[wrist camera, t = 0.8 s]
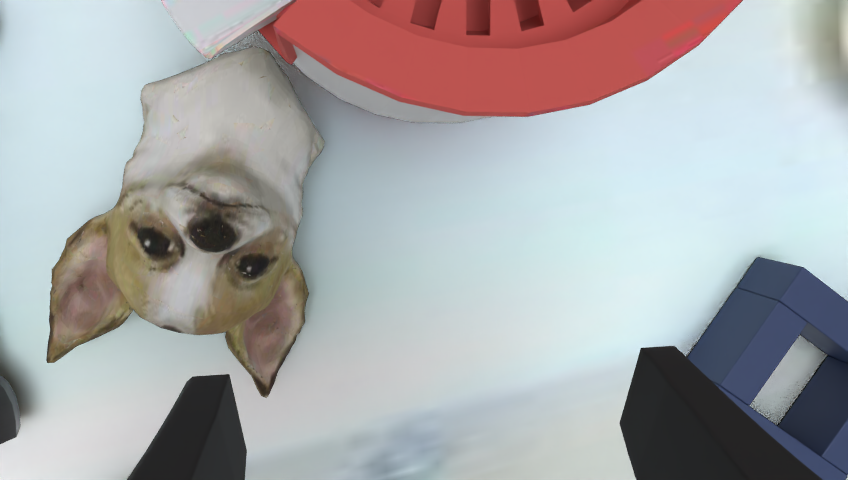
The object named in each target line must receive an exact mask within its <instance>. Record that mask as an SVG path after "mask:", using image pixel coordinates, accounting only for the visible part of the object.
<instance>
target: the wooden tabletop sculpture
mask: <svg viewBox="0 0 848 480" xmlns="http://www.w3.org/2000/svg"><path fill="white" fill-rule="evenodd" d="M19 429H20V410H19V406H18V402H17V397H16V395H15V393H14V391H13V389H12V388H11V386H10V384H9V383H8V381H7V380H6V379H5V378H3V377H2V376H1V375H0V444H2V443H4V442H6V441H8V440H10V439H13V438H15V437H17V434H18V432H19Z"/></svg>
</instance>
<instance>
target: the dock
mask: <svg viewBox="0 0 848 480" xmlns="http://www.w3.org/2000/svg"><path fill="white" fill-rule="evenodd" d="M737 287H738V288H735V290H734V291H733V293H732V294H731V295H730V297H729V298H728V300H727V301H726V303H725V304H724V305H723V307H722V308H721V310H720V311H719V313H718V314H717V315H716V317H715V318H714V320H713V321H712V323H711V324H710V325H709V327H708V328H707V330H706V331H705V333H704V334H703V335H702V337H701V338H700V340H699V341H698V343H697V344H696V345H695V347H694V348H693V350H692V351H691V353H690V354H689V355H688V357H687V358H688V359H689V360H690V361H691V362H692V363H693V364H694V365H695V366H696V367H697V368H698V369H699V370H700V371H701V372H702V373H703V374H705V375H706V376H707V377H708V378H709V379H710V380H711V381H712V382H713V383H714V384H715V385H716V386H717V387H718V388H719V389H720V390H721V391H723V392H724V393H725V394H726V395H727V396H728V397H729V398H730V399H731V400H732V401H733V402H734V403H735V404H736V405H738V406H739V407H740V408H741V409H742V410H743V411H744V412H745V413H746V414H747V415H748V416H749V417H751V418H752V419H753V420H754V421H755V422H756V423H757V424H758V425H759V426H761V427H762V428H763V429H764V430H765V431H766V432H767V433H768V434H769V435H771V436H772V437H773V438H774V439H775V440H776V441H777V442H779V443H780V444H781V445H782V446H783V447H784V448H786V449H787V450H788V451H789V452H790V453H791V454H793V455H794V456H795V457H796V458H797V459H798V460H800V461H801V462H802V463H803V464H804V465H806V466H807V467H808V468H809V469H811V470H812V471H813V472H814V473H815V474H817V475H818V476H819V477H820V478H822V479H823V480H846V478H847V475H848V301H846V300H845V299H844V298H843V297H841V296H840V295H839V294H837V293H836V292H835V291H833V290H832V289H831V288H830V287H828V286H827V285H826V284H824V283H823V282H822V281H820V280H819V279H818V278H817V277H815V276H814V275H813V274H811V273H810V272H809V271H807V270H806V269H805V268H804V267H800V266H795V265H791V264H787V263H782V262H778V261H774V260H769V259H765V258H760V257H757V259H756V260H755V261H754V263H753V264H752V266H751V267H750V269H749V270H748V271H747V273H746V274H745V276H744V277H743V279H742V280H741V281H740V283H739V284H738V286H737ZM799 334H800V335H802V336H803V337H804V338H806V339H807V340H809V341H810V342H811V343H813V344H814V345H815V346H817V347H818V348H819V349H821V350H822V351H823V352H825V353H826V354H827V355H829V356H827V358H826V359H825V360H824V362H823V363H822V365H821V366H820V367H819V369H818V370H817V372H816V373H815V375H814V376H813V377H812V379H811V380H810V382H809V383H808V384H807V386H806V387H805V389H804V390H803V392H802V393H801V394H800V396H799V397H798V399H797V400H796V401H795V403H794V404H793V406H792V407H791V409H790V410H789V411H788V413H787V414H786V416H785V417H784V418H783V420H782V421H781V423H780V424H779V426H777V425H775V424H774V423H773V422H771V421H770V420H768V419H767V418H765V417H764V416H763V415H761V414H760V413H758V412H757V411H755V410H754V409H753V408H751V407H750V406H748V405H750V404H751V403H752V401H753V400H754V398H755V397H756V395H757V394H758V393H759V391H760V390H761V388H762V387H763V386H764V384H765V383H766V381H767V380H768V378H769V377H770V376H771V374H772V373H773V371H774V370H775V368H776V367H777V366H778V364H779V363H780V361H781V360H782V359H783V357H784V356H785V354H786V353H787V351H788V350H789V349H790V347H791V346H792V344H793V343H794V341H795V340H796V339H797V337H798V336H799Z"/></svg>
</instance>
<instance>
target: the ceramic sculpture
mask: <svg viewBox="0 0 848 480" xmlns="http://www.w3.org/2000/svg"><path fill="white" fill-rule="evenodd" d="M141 103H142V106H143V117H144V126H143V133H142V136H141V139H140V142H139V143H138V145H137V147H136V148H135V150H134V153H133V157H132V158H131V159H130V160H129V161H128V162H127V163H126V166H125V169H124V175H123V185H122V190H121V194H120V198H119V200H118V202H117V204H116V206H115V207H114V208H113V209H111V210H110V211H108V212H106V213H105V214H102V215H99V216H96V217H94V218H92V219H91V220H89V221H88V222H86V223H85V224H84V225H83V226H82V227H81V228H79V229H78V230H77V231H76V232H75V233H74V234H72V235H71V236H70V237H69V238H68V239H67V241H66V245H65V248H64V251H63V253H62V255H61V257H60V259H59V261H58V262H57V264H56V265H55V266H54V268H53V269H52V282H51V283H52V288H51V291H50V296H51V300H50V316H49V323H50V335H49V341H48V349H47V363H54V362H56V361H57V360H59V359H60V358H62V357H63V356H64V355H66V354H67V353H68V352H70V351H71V350H72V349H74V348H75V347H76V346H78V345H81V344H83V343H85V342H88V341H90V340H92V339H95V338H97V337H99V336H101V335H103V334H105V333H107V332H109V331H111V330H114V329H116V328H118V327H119V326H120V325H122V324H123V323H124V322H125V321H126V319H127V318H128V316H129V315H130V314H131V313H132V311H133V309H134V310H135V312H136V313H137V314H138V315H139V316H140V317H141V318H143V319H145V320H147V321H149V322H151V323H153V324H155V325H157V326H159V327H161V328H164V329H167V330H171V331H175V332H178V333H186V334H194V335H209V334H218V333H223V332H225V331H226V335H225V338H226V342H227V345H228V348H229V349H230V350H231V352H232V353H233V354H234V356H235V357H236V358H237V359H238V361H239V362H240V363H241V364H242V365H243V367H244V368H245V369H246V370H247V371H248V372H249V374H250V375H251V376H252V378H253V380H254V382H255V385H256V387H257V389H258V391H259V393H260V395H261V396H263V397H265V398H267V397H268V395H269V393H270V391H271V389H272V386H273V384H274V382H275V379H276V376H277V373H278V370H279V368H280V367H281V365H282V364H283V362H284V360H285V358H286V356H287V355H288V353H289V352H290V349H291V347H292V345H293V344H294V342H295V341H296V336H297V334H298V333H300V331H301V328H302V326H303V325H304V323H305V312H304V311H305V304H306V301H307V298H308V295H309V293H308V289H307V286H306V283H305V279H304V276H303V272H302V270H301V268H300V267H299V265H298V264H297V262H296V261H295V260H294V258H293V256H292V248H293V243H294V240H295V237H296V233H297V228H298V226H299V223H300V220H301V218H302V215H303V208H302V204H301V203H302V198H303V181H304V179H305V177H306V175H307V172H308V169H309V167H310V166H311V165H312V163H313V161H314V160H315V159H316V157H317V156H318V155H319V154H320V153H321V151H322V150H323V147H324V140H323V138H322V137H321V135H320V134H319V132H318V131H317V129H316V128H315V126H314V125H313V123H312V121H311V120H310V118H309V116H308V115H307V113H306V112H305V110H304V108H303V107H302V105H301V103H300V101H299V99H298V97H297V96H296V94H295V92H294V89H293V87H292V85H291V82H290V80H289V79H288V77H287V75H286V74H285V73H284V72H283V71H282V69H281V68H280V67H279V66H278V64H277V63H276V61H275V59H274V58H273V56H272V55H271V53H270V52H268V51H266V50H264V49H262V48H258V47H250V48H247V49H244V50H240V51H234V52H230V53H225V54H222V55H220V56H219V57H217V58H215V59H213V60H211V61H209V62H207V63H204V64H202V65H200V66H197V67H195V68H192V69H190V70H187V71H185V72H182V73H180V74H177V75H174V76H171V77H169V78H166V79H163V80H160V81H157V82H153V83H149V84H146V85H145V86H144V87H143V89H142V91H141Z"/></svg>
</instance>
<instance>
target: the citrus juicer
mask: <svg viewBox="0 0 848 480" xmlns="http://www.w3.org/2000/svg"><path fill="white" fill-rule="evenodd" d="M161 1H162V3H163V5H164V7H165V8H166V10H167V11H168V13H169V15H170V16H171V18H172V19H173V21H174V22H175V24H176V25H177V26H178V28H179V29H180V31H181V32H182V33H183V35H184V36H185V37H186V38H187V39H188V41H189V42H190V43H191V44H192V45H193V46H194V47H195V48H196V49H197V50H198V51H199V52H200V53H201V54H202V55H203V56H205V57H206V58H208V59H211V58H213V57H214V56H216V55H218V54H219V53H221V52H223V51H224V50H226V49H228V48H229V47H231V46H232V45H234V44H236V43H237V42H239V41H241V40H242V39H244V38H246V37H247V36H249V35H251V34H252V33H254V32H256V31H257V30H259V32H260V33H261V34H262V35H263V36H264V37H265V38H266V39H267V41H268V42H269V43H270V44H271V45H272V46H273V47H274V49H275V50H276V51H277V52H278V53H279V54H280V55H281V56H282V58H283V59H284V60H285V61H286V62H288V63H289V64H291V65H292V64H293V63H294V64H295V65H296V66H297V67H298V68H299V69H300V70H301V71H302V72H303V73H304V74H305V75H306V76H307V77H308V78H310V79H311V80H312V81H314V82H315V83H317V84H318V85H320V86H321V87H323V88H324V89H326V90H327V91H329V92H330V93H331V94H333V95H334V96H336V97H337V98H339V99H341V100H343V101H345V102H348V103H350V104H352V105H355V106H357V107H359V108H362V109H364V110H366V111H369V112H371V113H373V114H376V115H380V116H385V117H390V118H394V119H399V120H404V121H408V122H416V123H463V122H468V121H473V120H478V119H483V118H488V117H493V116H516V117H529V116H534V115H539V114H544V113H549V112H554V111H559V110H565V109H570V108H575V107H580V106H585V105H590V104H592V103H595V102H597V101H599V100H602V99H604V98H607V97H609V96H611V95H614V94H616V93H618V92H621V91H623V90H626V89H628V88H630V87H633V86H635V85H637V84H640V83H642V82H645V81H647V80H649V79H650V78H651V77H653V76H654V75H656V74H657V73H659V72H660V71H662V70H663V69H665V68H666V67H668V66H669V65H670V64H672V63H673V62H675V61H676V60H678V59H679V58H681V57H682V56H684V55H685V54H687V53H688V52H690V51H691V50H692V49H694V48H695V47H697V46H698V45H699V44H700V43H701V42H702V41H703V40H704V39H705V38H706V37H707V36H708V35H709V34H710V33H711V32H712V31H713V30H714V29H715V28H716V27H717V26H718V25H719V24H720V23H721V22H722V21H723V20H724V19H725V18H726V17H727V16H728V15H729V14H730V13H731V12H732V11H733V10H734V9H735V8H736V7H737V6H738V5H739V4H740V3H741V2H742V1H743V0H161Z"/></svg>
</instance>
